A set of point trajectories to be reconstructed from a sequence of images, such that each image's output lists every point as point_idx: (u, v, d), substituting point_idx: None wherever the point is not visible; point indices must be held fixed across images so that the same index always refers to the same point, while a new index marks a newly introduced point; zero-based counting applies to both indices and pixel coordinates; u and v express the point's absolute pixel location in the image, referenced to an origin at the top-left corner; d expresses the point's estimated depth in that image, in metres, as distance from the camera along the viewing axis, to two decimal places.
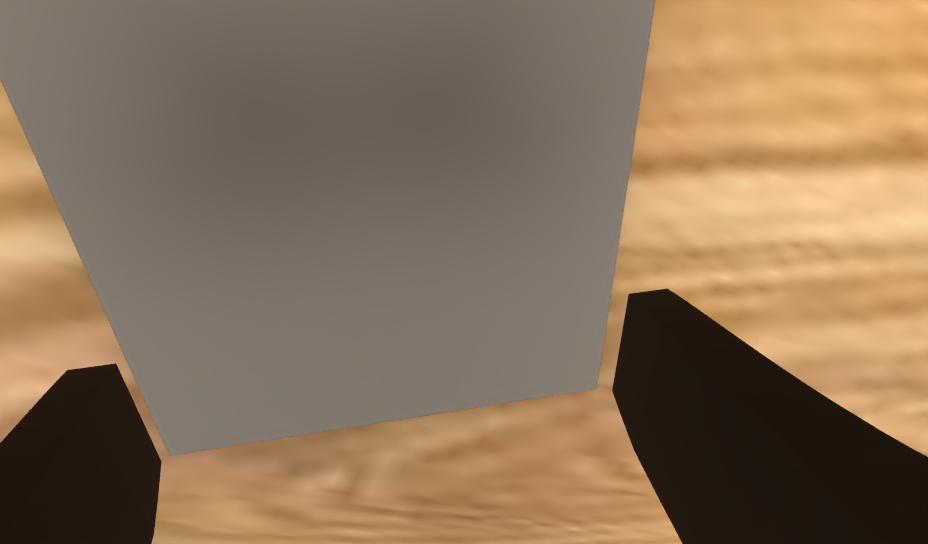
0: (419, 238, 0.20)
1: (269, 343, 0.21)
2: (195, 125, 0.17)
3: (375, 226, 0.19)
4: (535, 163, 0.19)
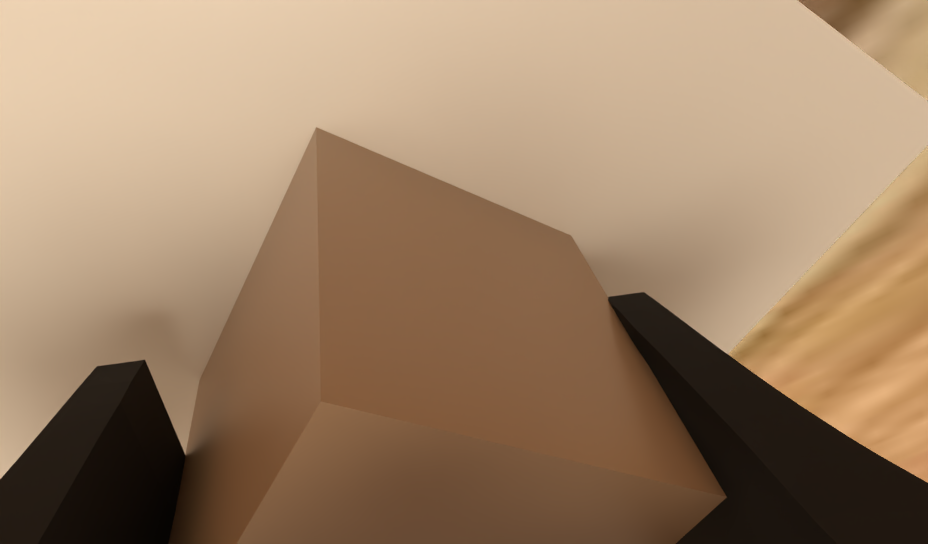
0: None
1: None
2: None
3: None
4: None
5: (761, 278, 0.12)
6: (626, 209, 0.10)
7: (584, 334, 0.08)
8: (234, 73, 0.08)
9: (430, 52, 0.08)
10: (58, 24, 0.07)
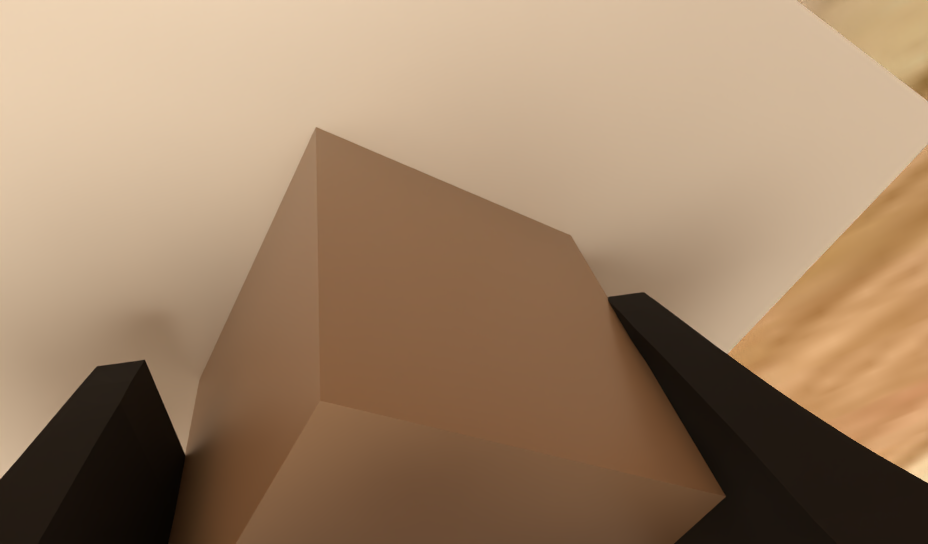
0: None
1: None
2: None
3: None
4: None
5: (760, 278, 0.12)
6: (625, 209, 0.11)
7: (583, 334, 0.08)
8: (234, 73, 0.08)
9: (429, 52, 0.08)
10: (58, 24, 0.07)
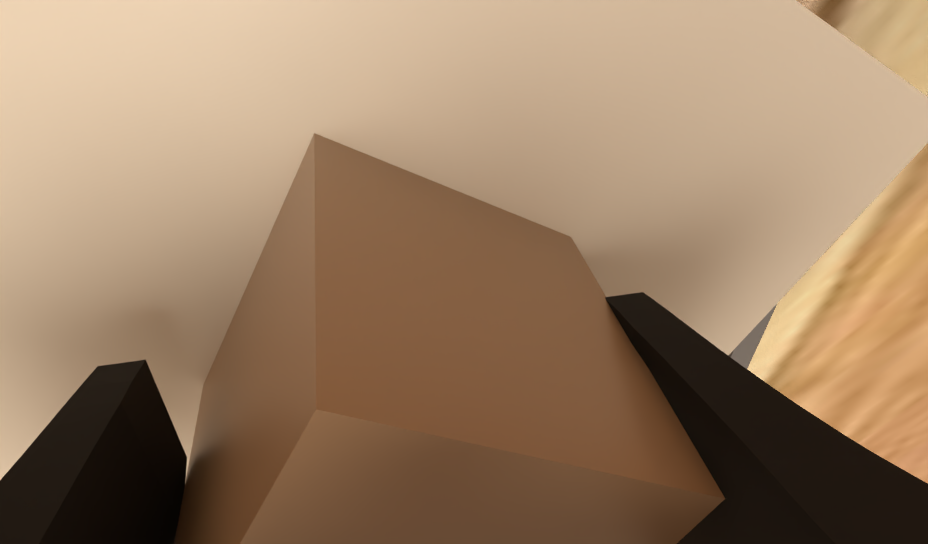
0: None
1: None
2: None
3: None
4: None
5: (763, 277, 0.12)
6: (625, 209, 0.11)
7: (583, 337, 0.08)
8: (232, 81, 0.08)
9: (426, 57, 0.08)
10: (58, 35, 0.08)
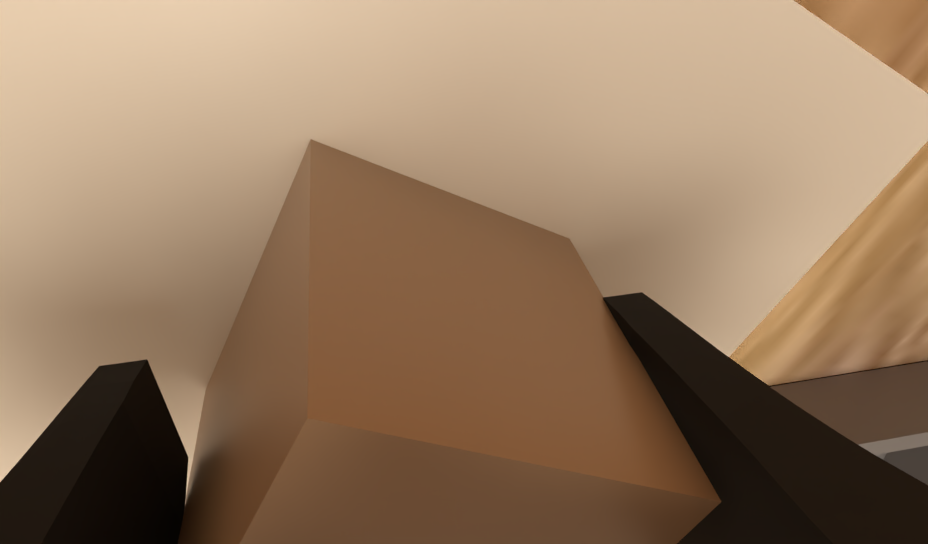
0: None
1: None
2: None
3: None
4: None
5: (764, 276, 0.12)
6: (624, 210, 0.10)
7: (578, 339, 0.08)
8: (227, 89, 0.08)
9: (421, 62, 0.08)
10: (54, 48, 0.08)
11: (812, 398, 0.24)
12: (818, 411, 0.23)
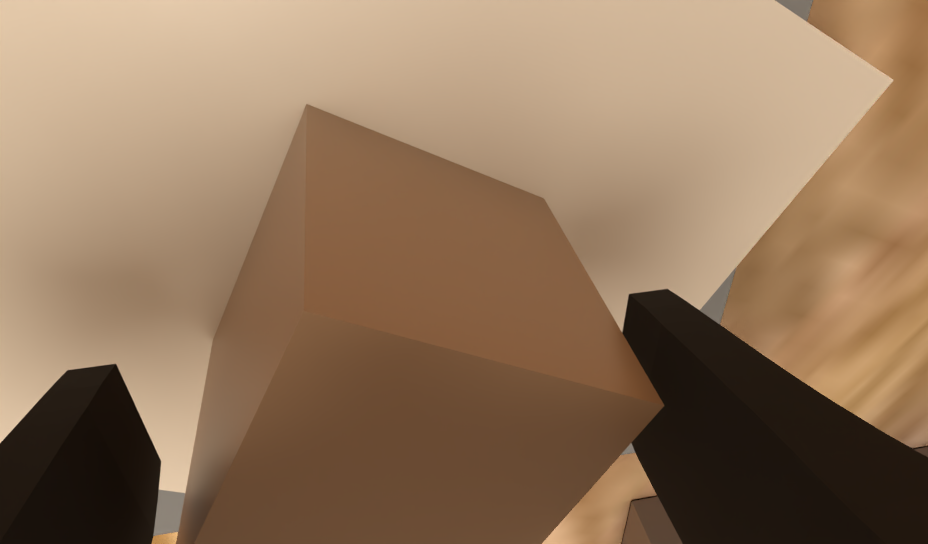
0: None
1: None
2: None
3: None
4: None
5: (725, 235, 0.13)
6: (593, 172, 0.12)
7: (545, 277, 0.09)
8: (232, 57, 0.09)
9: (404, 33, 0.10)
10: (78, 20, 0.09)
11: None
12: None
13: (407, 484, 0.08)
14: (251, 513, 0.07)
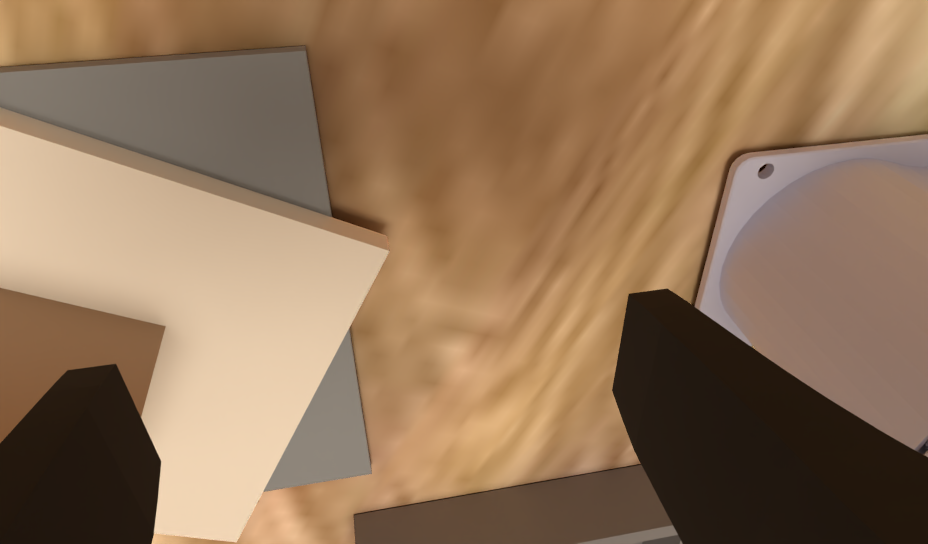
0: None
1: None
2: None
3: None
4: None
5: (313, 342, 0.19)
6: (194, 310, 0.18)
7: None
8: None
9: (32, 244, 0.16)
10: None
11: (548, 498, 0.27)
12: (547, 511, 0.27)
13: None
14: None
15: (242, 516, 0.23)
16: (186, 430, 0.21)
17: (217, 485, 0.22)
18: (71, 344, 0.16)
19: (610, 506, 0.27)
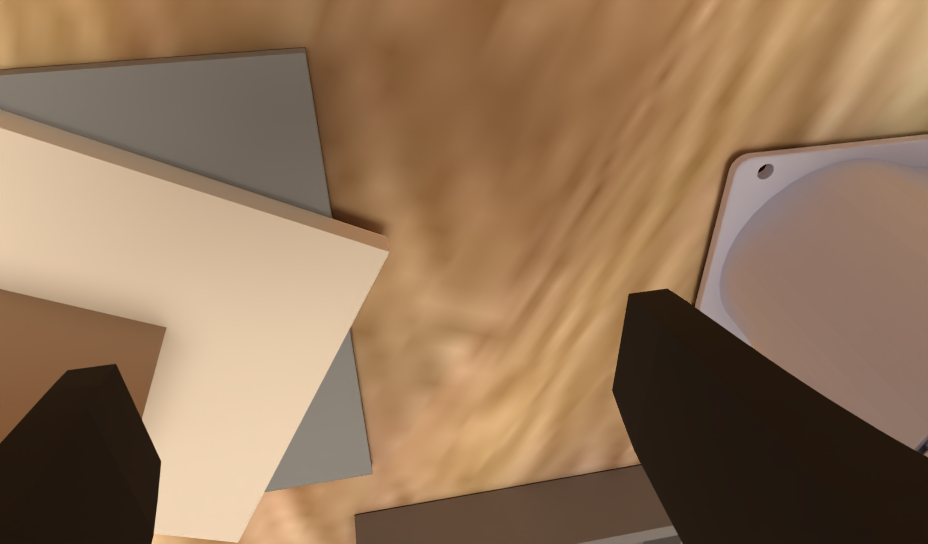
0: None
1: None
2: None
3: None
4: None
5: (314, 343, 0.19)
6: (195, 311, 0.18)
7: None
8: None
9: (33, 246, 0.16)
10: None
11: (548, 498, 0.27)
12: (548, 512, 0.27)
13: None
14: None
15: (243, 516, 0.24)
16: (187, 431, 0.21)
17: (218, 486, 0.22)
18: (72, 345, 0.16)
19: (611, 506, 0.27)
